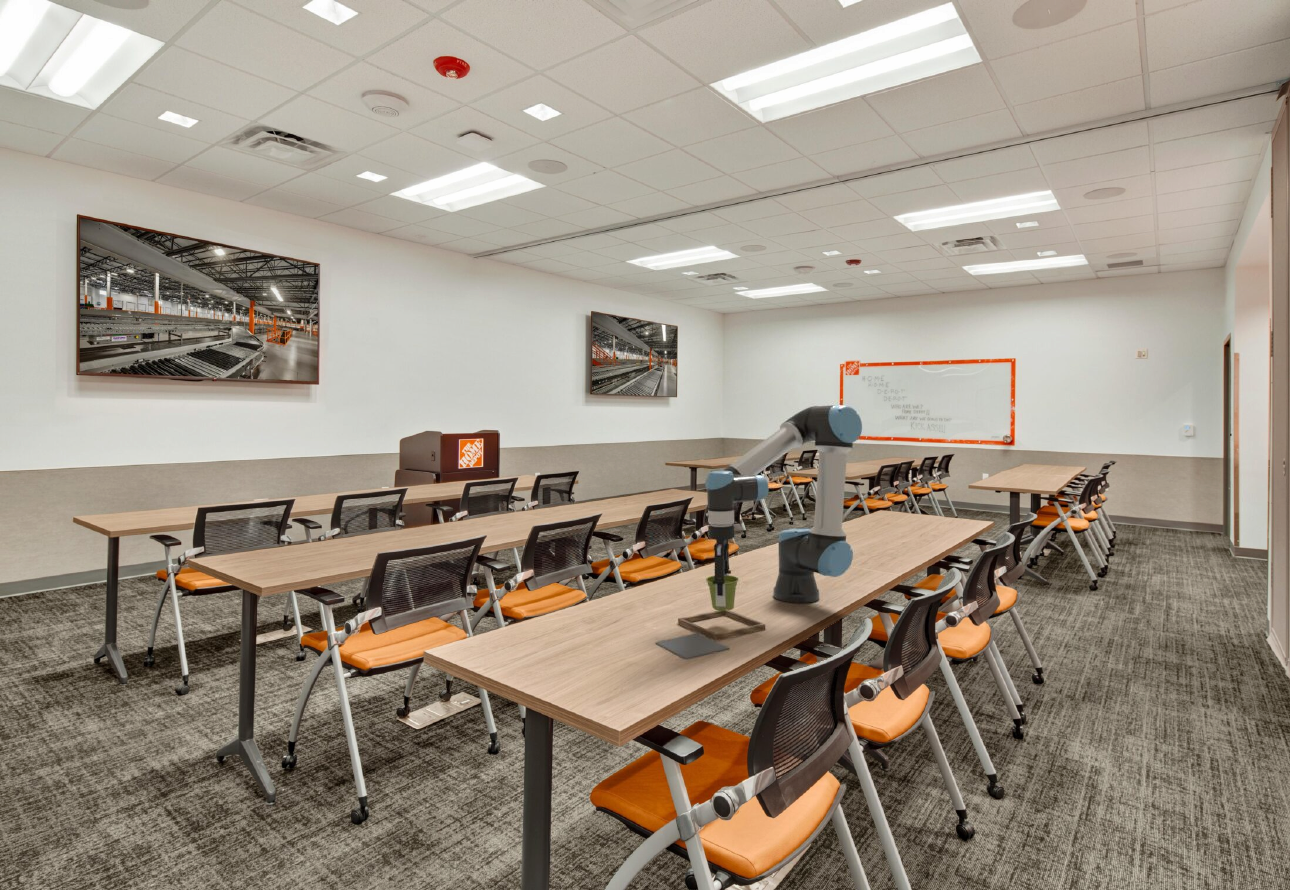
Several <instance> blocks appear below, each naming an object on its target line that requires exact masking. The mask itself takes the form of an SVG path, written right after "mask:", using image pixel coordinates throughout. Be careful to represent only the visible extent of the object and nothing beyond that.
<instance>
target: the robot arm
mask: <svg viewBox="0 0 1290 890" xmlns="http://www.w3.org/2000/svg"><path fill="white" fill-rule="evenodd" d="M862 431H863V423H862V419H861V416H860V414H859V413H858V412H857V410H856V409H854V408H853V407H852V406H848V405H841V404H837V405H836V404H835V405H813V406H809V407H807V408H804V409H802V410H801V411H799V412H797V413H796V414H794V415H792V416H791V417H789V418H788V419H786V421H784V422H782V423H781V424H780V426H779V428H778V430H777V431H775V432H774V433H773V434H771V435H769V436H768V437H767V438H766V439H764V440H763V441H762V442H760V443H759V444H757V445H756V446H754V447H753V448H752V449H750V450H749V451H748V452H746V453H745V454H744V455H742V456H741V457H739V458H738V459H737V460H735V461H733V462H732V463H731V464H730V465H729V466H727V467H725V468H724V469H723V470H715V471H713V470H712V471H710V472H709V473H708V474H707V476H706V479H705V482H704V483H705V488H706V489H705V490H706V496H707V498H706V499H707V512H706V514H705V516H706V517H707V523H708V526H707V532H708V534H707V535H708V538H709V539H711V540H715V541H716V542H715V544H713V550H714V556H713V557H714V576H715V580H714V581H713V584H715V593H716V606H723V607H725V606H726V601H725V581H724V576H725V575H732V570H730V561H729V560H730V558H729V557H730V556H729V553H730V551H729V549H730V543H729V540H732V539H734V538H735V525H734V524H735V503H743V502H744V503H745V502H746V503H747V502H758V501H761V500H764V499H765V498H767V496H768V495H769V490H770V489H769V487H770V485H769V482H768V480H767V478H766V477H765V476H764V475H761V472H763V471H764V470H765V469H766V468H767V467H769V466H770V465H772V464H773V463H774V462H776V461H778V459H780V458H781V457H783V456H784V455H785V454H787V453H788V452H789V451H790V450H792V449H793V448H794V449H795V448H797V449H798V448H800V447H801V446H803V445H804V444H806V443H810V442H814V447H815V448H816V450H817V451H818V466H817V477H816V478H817V479H816V490H815V491H816V493H815V505H814V506H815V508H814V523H813V526H812V527H811V528H794V529H792V528H791V529H784V530H782V531H780V532H779V536H778V575H777V578H776V582H775V586H774V587H773V597H774V598H775V599H777V600H778V601H783V602H787V603H795V604H796V603H797V604H798V603H799V604H804V603H805V604H807V603H808V604H809V603H813V602H816V601H818V600H819V599H820V591H819V589H818V585H817V580H816V578H815V573H816V574H819V575H822V576H825V577H830V578H831V577H833V578H837V577H838V578H839V577H840V576H842V575H844V574H845V573H846V572H847V571H848V570H849V568H850V567H851V565H852V562H853V559H854V551H853V548H852V546H851V544H849V543H848V542H847V533H846V532H845V530H843V528H842V527H843V518H844V517H843V515H844V504H845V503H844V501H845V486H846V475H847V458H848V453H850V452H851V451H852V450H853V448H854V447H853V445H854V443H855V442H857V440H859V437H860V436H861V435H862ZM718 578H719V579H718Z"/></svg>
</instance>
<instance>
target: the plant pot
mask: <svg viewBox="0 0 1290 890" xmlns="http://www.w3.org/2000/svg"><path fill="white" fill-rule="evenodd" d="M718 579H719V578H718ZM714 580H715V575H712V576H708V577H706V578H705V582H706V583H707V586H708V588H709V592H710V593H709V595H710V600H711V605H712V609H714V611H718V610H719V611H725V610H730V611H733V609H734V607H735V597H736V589H737V585H738V582H739V577H737V576H734V575H731V574H729V575H725V576H724V581H725V601H726V606H725V607H723V606H716V593H715V584H713V581H714Z"/></svg>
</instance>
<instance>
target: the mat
mask: <svg viewBox="0 0 1290 890" xmlns="http://www.w3.org/2000/svg"><path fill="white" fill-rule="evenodd" d="M655 644H656V645H657V646H660V647H661V648H663V649H664V650H666V651H669V652H671V653H672V654H674V655H676V656H677V657H680V658H682V659H684V660H685V661H686V660H690V659H694V658H698V657H703V656H706V655H710V654H714V653H719V652H722V651H723V652H724V651H727V650H730V647H729V646H727V645H724V644H722V643H720V642H718V641H715V640H713V639H711V638H708V637H706V636H704V635H702V634H700V633H698V632H695V633H691V634H687V635H682V636H678V637H677V636H676V637H673V638H669V639H665V640H660V641H655Z"/></svg>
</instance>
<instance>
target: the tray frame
mask: <svg viewBox="0 0 1290 890" xmlns="http://www.w3.org/2000/svg"><path fill="white" fill-rule="evenodd" d="M722 616H726V617H729V618H732V619H734V620H735V621H736V620H737V621H739V622H741V623H745V624H747V625H749V626H745V627H741V628H736V629H731V630H728V631H722V632H718V633H716V632H714V631H711V630H709V629H707V628H705V627H702V626H700V625H697V624H696V623H694V622H698V621H704V620H709V619H712V618H718V617H722ZM677 623H678V625H680V626H682V627H684V628H687V629H689V630H691V631H693V632H695V633H699V634H701V635H703V636H705V637H707V638H709V639H712V640H714V641H716V642H718V641H721V640H726V639H729V638H734V637H739V636H743V635H747V634H750V633H756V632H760V631H765V630H766V623H763V622H761V621H759V620H756V619H753V618H750V617H747V616H745V615H742V614H740V613H737V612H735V611H733V610H725V611H719V610H713V611H709V612H705V613H704V612H703V613H699V614H695V615H687V616H685V617H684V616H683V617H679V618H677Z"/></svg>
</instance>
